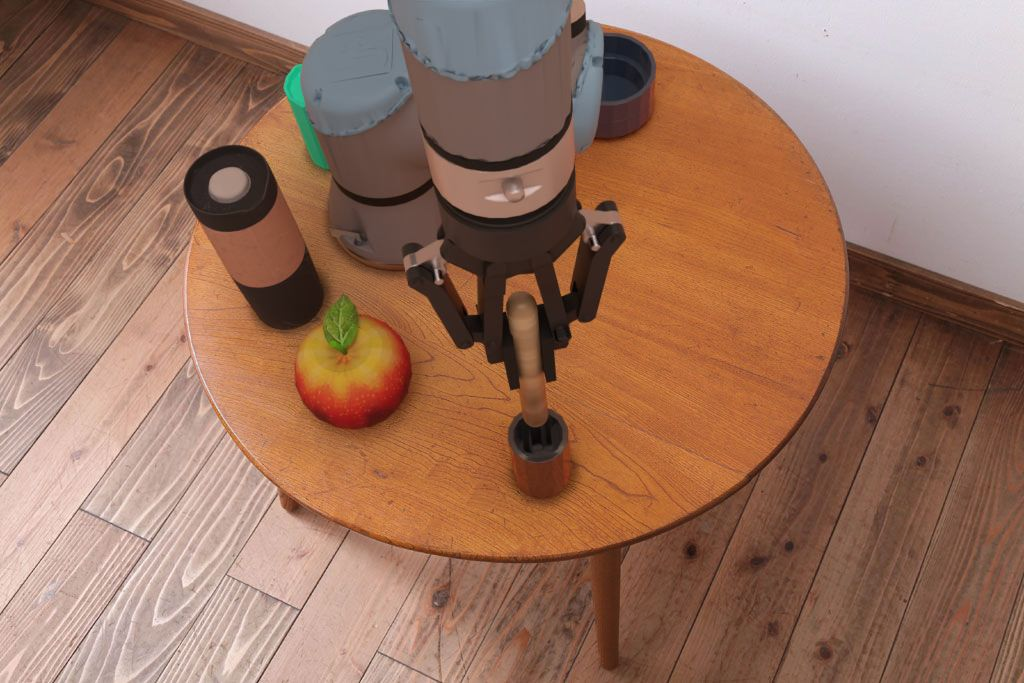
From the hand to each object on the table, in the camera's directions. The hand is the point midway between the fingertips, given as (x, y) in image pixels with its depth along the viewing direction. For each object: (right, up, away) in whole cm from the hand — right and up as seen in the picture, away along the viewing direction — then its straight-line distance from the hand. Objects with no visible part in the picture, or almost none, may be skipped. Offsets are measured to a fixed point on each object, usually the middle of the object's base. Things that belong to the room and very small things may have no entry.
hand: (529, 368), depth 74 cm
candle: (-21, +23, +38) cm, 49 cm away
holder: (+2, -10, +19) cm, 21 cm away
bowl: (+9, +28, +38) cm, 48 cm away
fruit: (-16, -3, +24) cm, 29 cm away
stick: (+1, -4, +8) cm, 9 cm away
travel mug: (-24, +6, +30) cm, 39 cm away
